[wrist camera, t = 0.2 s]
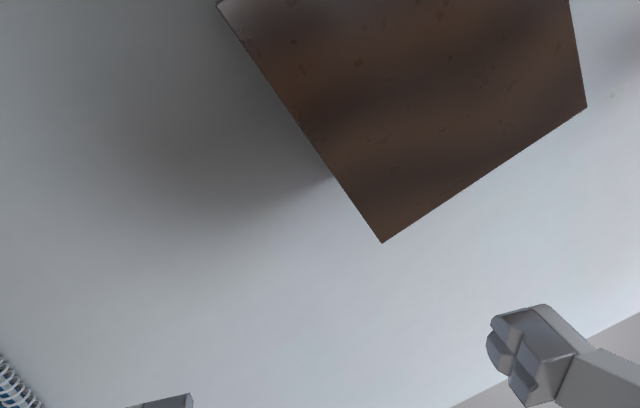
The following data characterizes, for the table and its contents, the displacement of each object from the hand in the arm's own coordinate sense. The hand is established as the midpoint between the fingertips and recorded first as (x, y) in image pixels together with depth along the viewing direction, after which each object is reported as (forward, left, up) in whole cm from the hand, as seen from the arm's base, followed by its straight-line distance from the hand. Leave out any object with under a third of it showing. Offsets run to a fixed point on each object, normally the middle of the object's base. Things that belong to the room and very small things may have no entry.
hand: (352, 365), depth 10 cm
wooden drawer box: (-1, +9, -20) cm, 22 cm away
